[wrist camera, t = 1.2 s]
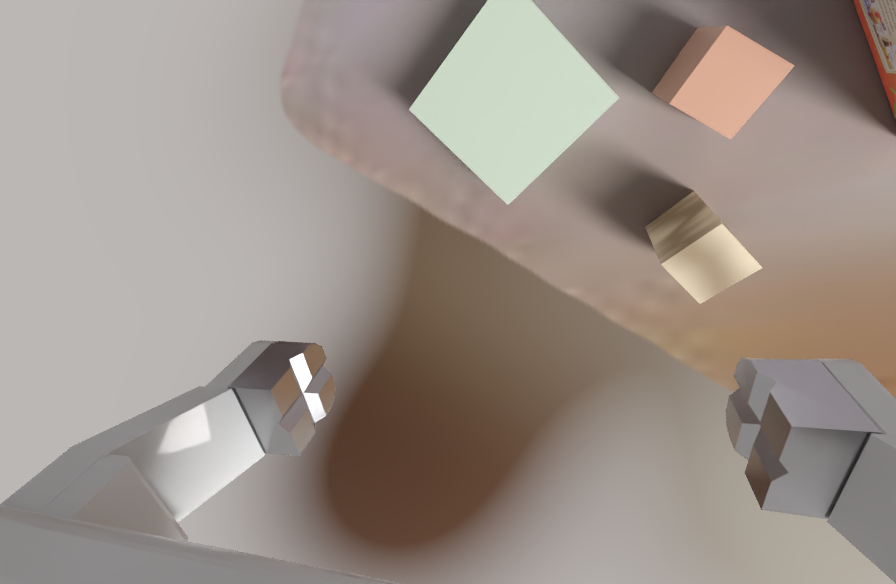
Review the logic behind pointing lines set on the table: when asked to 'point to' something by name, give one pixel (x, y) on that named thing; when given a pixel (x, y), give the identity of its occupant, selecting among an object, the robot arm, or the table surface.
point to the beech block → (699, 249)
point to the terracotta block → (721, 78)
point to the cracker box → (881, 40)
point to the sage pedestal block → (511, 96)
